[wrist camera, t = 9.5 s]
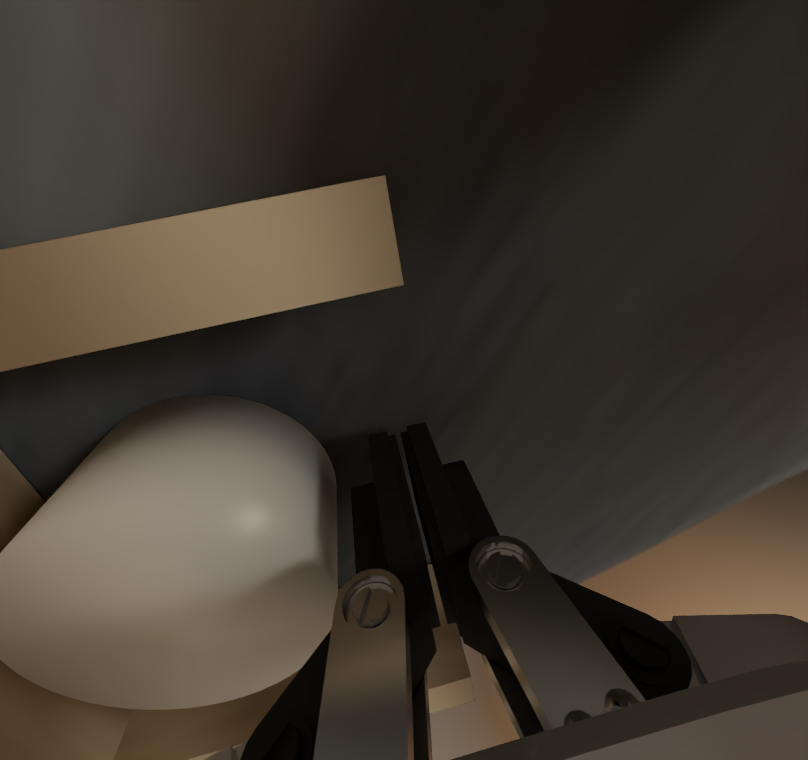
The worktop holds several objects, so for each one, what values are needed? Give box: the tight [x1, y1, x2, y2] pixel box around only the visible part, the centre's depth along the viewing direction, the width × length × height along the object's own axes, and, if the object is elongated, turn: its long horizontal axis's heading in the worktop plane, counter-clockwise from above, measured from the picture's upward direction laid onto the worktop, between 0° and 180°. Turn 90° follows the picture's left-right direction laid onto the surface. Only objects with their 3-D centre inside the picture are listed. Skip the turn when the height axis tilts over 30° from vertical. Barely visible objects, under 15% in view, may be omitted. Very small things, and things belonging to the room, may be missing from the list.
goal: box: [0, 175, 475, 760], centre depth 9 cm, size 12×15×7 cm
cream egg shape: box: [0, 395, 338, 710], centre depth 10 cm, size 7×7×4 cm
